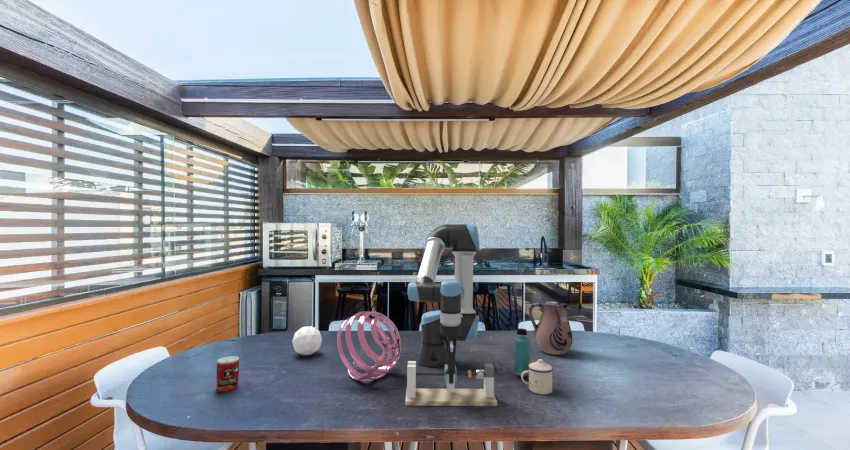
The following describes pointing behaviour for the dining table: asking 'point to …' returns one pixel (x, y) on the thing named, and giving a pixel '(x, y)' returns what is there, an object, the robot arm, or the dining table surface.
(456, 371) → the sleeve
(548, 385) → the teacup with lid
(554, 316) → the ceramic pitcher
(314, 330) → the geodesic sphere
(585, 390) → the dining table surface
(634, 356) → the dining table surface
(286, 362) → the dining table surface
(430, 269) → the robot arm
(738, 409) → the dining table surface
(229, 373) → the canned food
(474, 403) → the cord jig
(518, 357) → the beverage bottle
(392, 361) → the spiral basket
